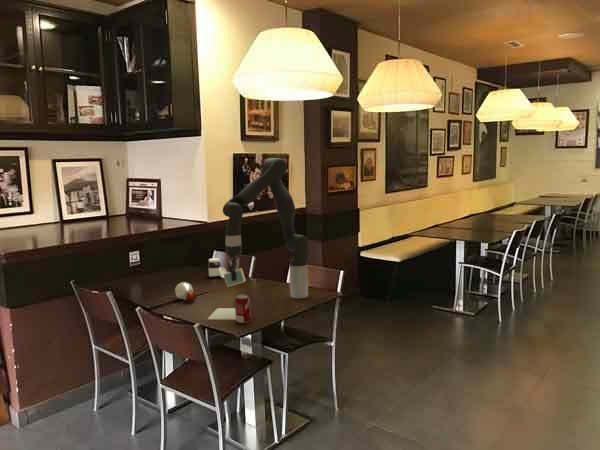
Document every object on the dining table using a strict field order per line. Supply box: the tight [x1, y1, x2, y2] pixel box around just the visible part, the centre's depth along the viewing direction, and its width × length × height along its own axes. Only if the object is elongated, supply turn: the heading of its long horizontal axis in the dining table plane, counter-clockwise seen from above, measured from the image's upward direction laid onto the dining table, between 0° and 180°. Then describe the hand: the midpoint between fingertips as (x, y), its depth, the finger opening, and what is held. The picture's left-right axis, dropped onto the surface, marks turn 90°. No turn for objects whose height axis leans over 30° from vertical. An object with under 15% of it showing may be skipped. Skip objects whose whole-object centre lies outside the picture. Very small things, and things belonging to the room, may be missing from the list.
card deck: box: [223, 267, 247, 288], centre depth 235 cm, size 2×9×6 cm, turn 84°
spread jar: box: [208, 257, 228, 279], centre depth 310 cm, size 12×11×12 cm
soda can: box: [234, 294, 252, 324], centre depth 222 cm, size 7×7×12 cm
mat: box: [207, 307, 236, 321], centre depth 234 cm, size 16×14×1 cm
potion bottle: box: [174, 281, 197, 304], centre depth 261 cm, size 9×10×15 cm
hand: (234, 279), depth 235 cm, fingers closed on card deck, 2 cm apart
